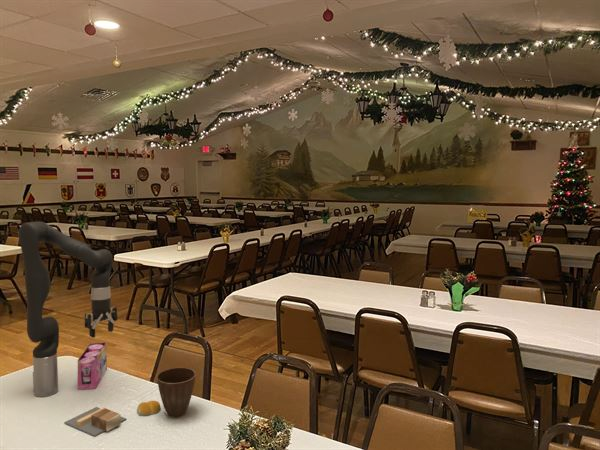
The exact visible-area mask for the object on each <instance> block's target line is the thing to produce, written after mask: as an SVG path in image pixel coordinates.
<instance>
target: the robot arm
mask: <svg viewBox="0 0 600 450" xmlns="http://www.w3.org/2000/svg"><path fill="white" fill-rule="evenodd" d="M18 239H19V244H20V249H21V254H22V260H23V269H24V284H25V285H24V286H25V292H26V293H25V294H26V306H27V307H26V308H27V309H26V310H27V311H26V313H27V314H26V332H27V336H28V339H29V340H30V341H31V342H32V343H38V344H37V345H36V346H35V347H34V348H33V350H32V368H33V372H32V380H33V381H32V386H33V387H32V388H33V393H34V396H35V397H37V398H38V397H39V398H43V397H44V398H45V397H50V396H53V395H55V394H56V393H58V392H59V372H58V371H59V369H58V367H59V366H58V348H59V341H60V340H59V339H60V328H59V327H60V326H59V322H58V321H57V319H56V318H55V317H54V316H46V317H45V316H44V317H43V310H44V309H43V308H44V305H45V302H46V301H47V298H48V295H49V294H50V291H51V275H50V272H49V269H48V267H47V265H45V262H44V261H43V260H42V257H41V255H40V251H39V249H40V248H39V243H40V244H41V243H47V244H51V245H54V246H55V247H58V248H59V249H60V251H62V252H64V253H65V254H66V255H68V256H70V257H72V258H74V259H78V260H80V262H82V263H83V264H85V265H87V266H88V267H91V268H93V269H96V270H95V272H93V273H92V274H91V291H90V299H91V300H90V301H91V313H85V314H84V328H85V329H88V331H89V337H91V338H96V326H97V325H99V322H102V321H107V322H108V323H107V331H108V332H110V333H112V332H113V331H114V322H116V321H118V319H119V318H118V308H117V307H116V306H112V304H111V303H112V300H111V299H112V298H111V297H112V296H111V294H112V293H111V286H110V285H111V283H110V282H111V281H110V280H111V279H110V276H111V271H112V267H113V254H112V252H111V251H110V250H108V249H105V248H104V249H103V248H102V249H99V250H95V249H92V246H91V245H89V244H88V243H85V242H83V241H80V240H78V239H75V238H73V237H70V236H68V235H66V234H65V233H63V232H61V231H59V230H57V229H56V228H54V227H53V226H51V225H50V224H49V223H46V222H45V221H29V222H24V223H22V224H21V225H20V227H19V230H18Z"/></svg>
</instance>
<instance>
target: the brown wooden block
mask: <svg viewBox="0 0 600 450" xmlns="http://www.w3.org/2000/svg"><path fill="white" fill-rule="evenodd" d="M103 408H104V409H102V408H101V409H102V410H100V411H98V412H96V413H94V414H92V415H91V422H92V425H93V426H95V427H98V428H100V429H102V430H105V432H109V431H111V430H113V429H115V428H117V427H118V426H120V425H121V424H122V423H121V417H122V416H121V413H120V412H119V413H118V412H116V411H114V410H111V409H108V408H107V409H106V407H103Z"/></svg>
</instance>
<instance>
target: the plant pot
mask: <svg viewBox="0 0 600 450" xmlns="http://www.w3.org/2000/svg"><path fill="white" fill-rule="evenodd" d="M156 380H157V386H158V391H159V396H160V398H161V402H162V405H163V408H164V411H165V413H166V415H167V416H168V417H170V418H180V417H183V416H184V415H186V413H187V411H188V409H189V406H190V403H191V399H192V397H193V392H194V386H195V381H196V371H195V370H193V369H192V368H188V367H173V368H167V369H165V370H163V371H160V372H159V373H158V374H157V376H156Z"/></svg>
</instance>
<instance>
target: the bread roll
mask: <svg viewBox="0 0 600 450" xmlns="http://www.w3.org/2000/svg"><path fill="white" fill-rule="evenodd" d="M160 410H161V404H160V402H159V401H157V400H148V401H147V402H144V401H143V402H140V403H139V404H138V405H137V408H136V413H137V414H138V415H139V416H140V417H141V416H143V417H145V416H150V415H155V414H158V412H159V411H160Z"/></svg>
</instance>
